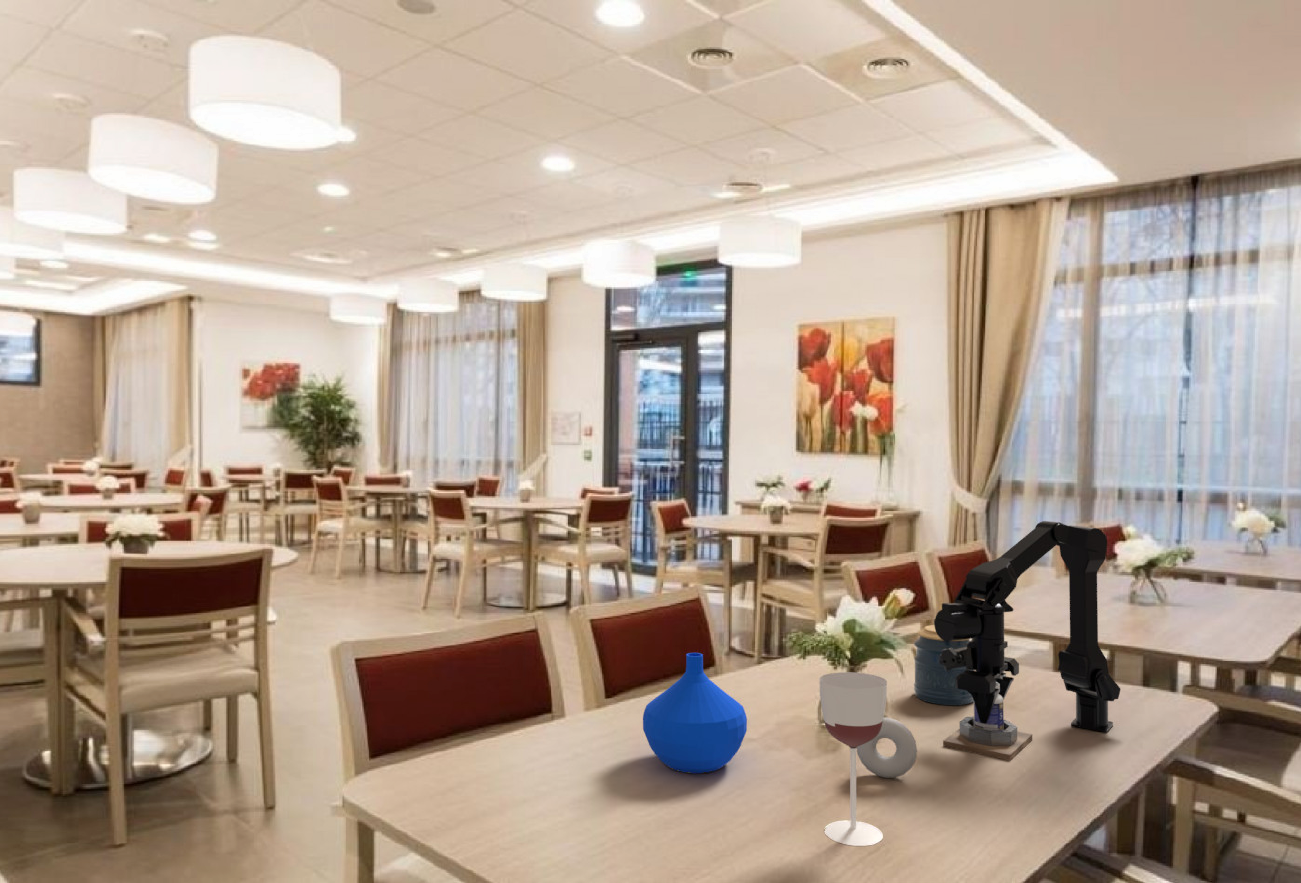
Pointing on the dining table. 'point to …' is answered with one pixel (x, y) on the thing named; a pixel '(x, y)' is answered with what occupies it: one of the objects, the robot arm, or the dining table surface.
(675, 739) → the vase
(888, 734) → the donut
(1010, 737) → the ring collar
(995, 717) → the pill bottle
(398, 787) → the dining table surface
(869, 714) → the wineglass
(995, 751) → the tan board
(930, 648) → the canister
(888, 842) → the dining table surface
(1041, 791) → the dining table surface
